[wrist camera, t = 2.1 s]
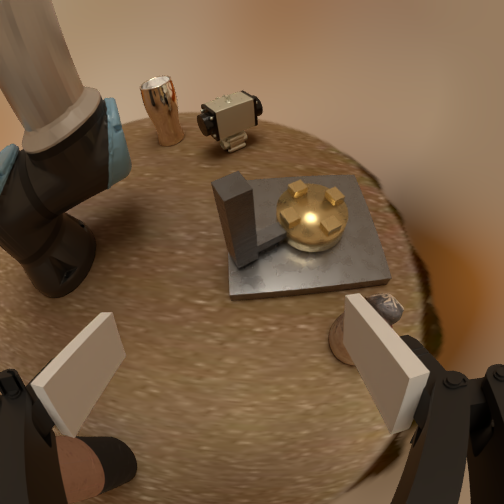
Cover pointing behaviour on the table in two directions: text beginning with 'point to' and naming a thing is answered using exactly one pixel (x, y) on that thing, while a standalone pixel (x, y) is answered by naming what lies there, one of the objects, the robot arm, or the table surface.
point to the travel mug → (93, 465)
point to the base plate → (311, 263)
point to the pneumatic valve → (230, 119)
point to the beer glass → (162, 109)
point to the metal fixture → (279, 218)
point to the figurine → (383, 306)
